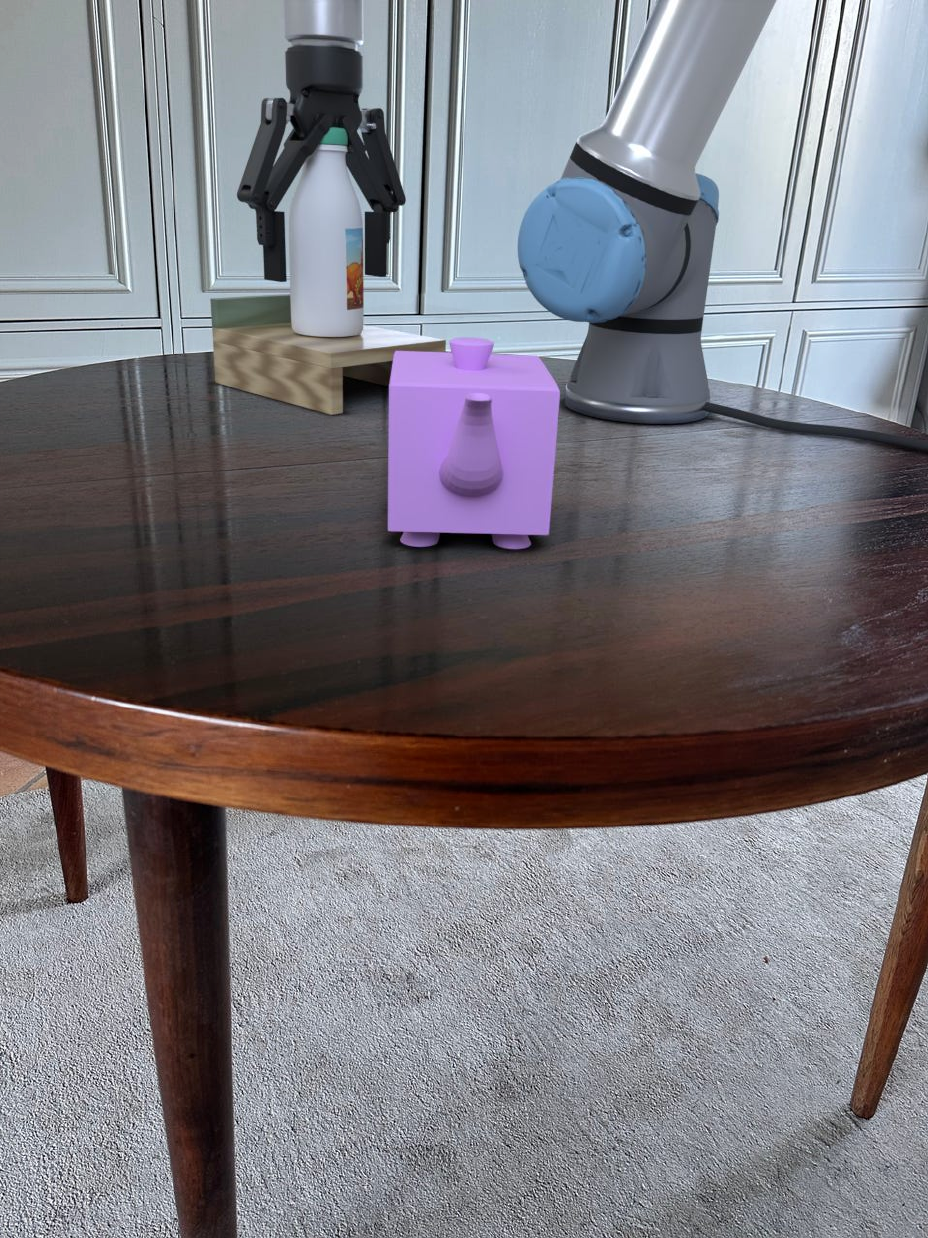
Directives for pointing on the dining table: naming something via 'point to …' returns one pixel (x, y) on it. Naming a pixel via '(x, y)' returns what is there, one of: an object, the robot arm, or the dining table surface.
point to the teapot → (471, 444)
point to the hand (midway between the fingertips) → (327, 278)
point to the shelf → (299, 353)
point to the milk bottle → (326, 245)
